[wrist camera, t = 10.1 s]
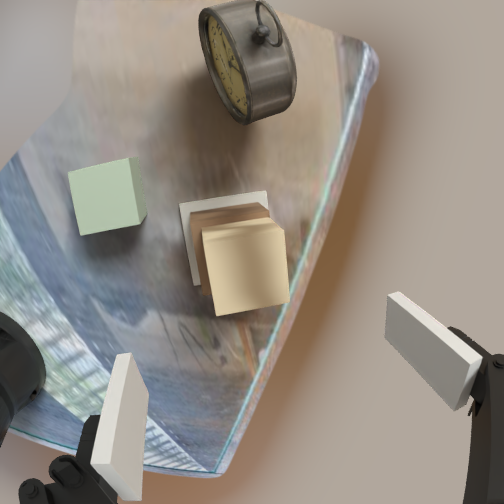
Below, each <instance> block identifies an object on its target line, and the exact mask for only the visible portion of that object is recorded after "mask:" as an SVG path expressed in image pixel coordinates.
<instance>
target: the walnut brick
mask: <svg viewBox="0 0 504 504" xmlns="http://www.w3.org/2000/svg"><path fill="white" fill-rule="evenodd" d="M266 217H269V218H270V216H269V210H267V209H266V208H265V207H264V206H262V205H261V204H260V203H259V202H254V203H247V204H240V205H233V206H227V207H220V208H214V209H208V210H201V211H195V212H190V227H191V232H192V238H193V244H194V250H195V255H196V261H197V266H198V272H199V277H200V282H201V288H202V293H203V296H205V295H210V294H212V290H211V285H210V279H209V274H208V268H207V262H206V257H205V251H204V245H203V237H202V228H203V227H210V226H216V225H222V224H228V223H234V222H241V221H247V220H253V219H260V218H266Z"/></svg>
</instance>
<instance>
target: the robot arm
mask: <svg viewBox="0 0 504 504" xmlns="http://www.w3.org/2000/svg"><path fill="white" fill-rule="evenodd" d="M385 338H386V340H387V341H388V342H389V343H390V344H391V345H392V346H393V347H394V348H395V349H396V350H397V351H398V352H399V353H400V354H401V355H402V356H403V357H404V358H405V360H407V361H408V363H409V364H410V365H411V366H412V367H413V368H414V369H415V370H416V371H417V372H418V373H419V374H420V375H421V376H422V378H423V379H424V380H425V381H426V382H427V383H428V384H429V385H430V386H431V387H432V388H433V389H434V390H435V391H436V392H437V394H438V395H439V396H440V397H441V398H442V399H443V400H444V401H445V402H446V403H447V404H448V406H449V407H450V408H451V409H452V410H453V411H456V410H458V409H459V408H461V407H463V406H464V405H466V404H467V401H468V399H469V396H470V395H471V396H472V397H473V398H474V401H473V403H472V406H471V408H470V410H469V413H468V416H470V414H471V412H472V429H471V444H470V456H469V466H468V473H467V481H466V488H465V494H464V500H463V504H504V355H502V354H495V355H491V354H490V353H488V352H487V351H486V350H485V349H483V348H482V347H481V346H480V345H478V344H477V343H476V342H475V341H472V339H470V338H469V337H467V335H466V334H464V333H463V332H462V331H460V330H459V329H456V328H453V327H448V328H446V327H445V326H443V325H442V324H441V323H439V322H438V321H437V320H436V319H434V318H433V317H432V316H430V315H429V314H428V313H426V312H425V311H424V310H423V309H422V308H420V307H419V306H418V305H416V304H415V303H414V302H412V301H411V300H409V299H408V298H407V297H406V296H404V295H403V294H402V293H400V292H395V293H392V294H389V295H388V296H387V311H386V326H385ZM45 376H46V371H45V365H44V361H43V358H42V356H41V354H40V352H39V350H38V348H37V346H36V344H35V343H34V341H33V340H32V339H31V337H30V336H29V335H28V333H27V332H26V331H25V330H24V329H23V328H22V327H21V326H20V325H19V324H18V323H17V322H15V321H14V320H13V319H12V318H10V317H9V316H7V315H5V314H4V313H2V312H0V447H1V445H2V442H3V440H4V437H5V435H6V433H7V430H8V428H9V426H10V423H11V421H12V419H13V417H14V415H15V414H17V413H18V412H19V411H20V410H22V409H23V408H24V407H25V406H27V405H28V404H29V403H30V402H31V401H33V400H34V399H35V398H36V397H37V396H38V394H39V393H40V391H41V388H42V386H43V384H44V382H45ZM148 399H149V393H148V390H147V388H146V386H145V384H144V381H143V379H142V377H141V375H140V372H139V370H138V368H137V365H136V363H135V360H134V358H133V356H132V353H125V354H118V355H117V356H116V360H115V363H114V367H113V370H112V374H111V377H110V381H109V385H108V389H107V392H106V396H105V400H104V404H103V408H102V412H101V415H90V417H89V418H88V419H87V421H86V422H85V423H84V426H83V430H82V435H81V437H80V442H79V445H78V449H77V453H76V457H74V456H71V455H62V456H59V457H57V458H56V459H55V460H53V461H52V463H51V464H50V466H49V475H50V477H51V478H52V479H53V480H54V481H55V483H51V484H46V485H44V484H43V483H42V482H41V481H40V480H38V479H35V478H32V479H28V480H26V481H24V482H23V483H22V484H21V486H20V488H19V500H20V504H118V503H117V496H118V495H119V497H120V498H121V499H123V501H142V478H143V477H142V476H143V459H144V444H145V431H146V419H147V409H148Z"/></svg>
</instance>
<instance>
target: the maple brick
mask: <svg viewBox="0 0 504 504" xmlns="http://www.w3.org/2000/svg"><path fill="white" fill-rule="evenodd" d="M202 237H203V245H204V251H205V257H206V262H207V268H208V274H209V279H210V285H211V290H212V296H213V301H214V306H215V311H216V316H220V315H225V314H231V313H237V312H242V311H247V310H253V309H258V308H263V307H268V306H273V305H278V304H283V303H288V302H290V297H289V284H288V272H287V260H286V248H285V237H284V230H283V229H281V228H280V227H279V226H278V225H277V224H276V223H275V222H274V221H273V220H271V219H270V218H269V217H266V218H260V219H253V220H247V221H241V222H234V223H228V224H222V225H216V226H210V227H203V228H202Z"/></svg>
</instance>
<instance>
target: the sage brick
mask: <svg viewBox="0 0 504 504" xmlns="http://www.w3.org/2000/svg"><path fill="white" fill-rule="evenodd" d="M68 177H69V183H70V188H71V194H72V199H73V204H74V209H75V214H76V218H77V223H78V227H79V232H80V236H82V235H87V234H92V233H97V232H102V231H107V230H112V229H117V228H122V227H127V226H133V225H138V224H140V223H141V222H142V221H143V219H144V218H145V216H146V215H147V209H146V203H145V198H144V192H143V186H142V180H141V174H140V167H139V160H138V157H132V158H126V159H121V160H117V161H112V162H108V163H103V164H99V165H95V166H91V167H87V168H83V169H79V170H75V171H71V172H68Z"/></svg>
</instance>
